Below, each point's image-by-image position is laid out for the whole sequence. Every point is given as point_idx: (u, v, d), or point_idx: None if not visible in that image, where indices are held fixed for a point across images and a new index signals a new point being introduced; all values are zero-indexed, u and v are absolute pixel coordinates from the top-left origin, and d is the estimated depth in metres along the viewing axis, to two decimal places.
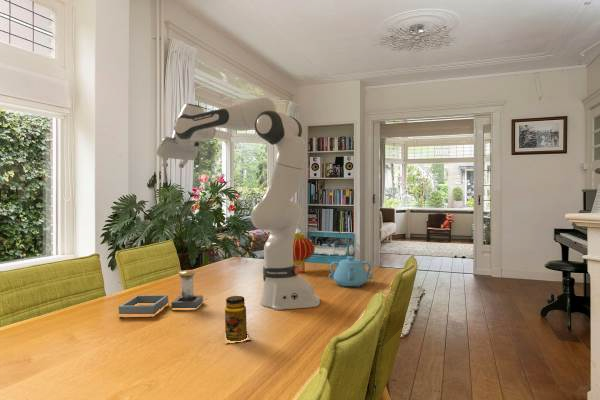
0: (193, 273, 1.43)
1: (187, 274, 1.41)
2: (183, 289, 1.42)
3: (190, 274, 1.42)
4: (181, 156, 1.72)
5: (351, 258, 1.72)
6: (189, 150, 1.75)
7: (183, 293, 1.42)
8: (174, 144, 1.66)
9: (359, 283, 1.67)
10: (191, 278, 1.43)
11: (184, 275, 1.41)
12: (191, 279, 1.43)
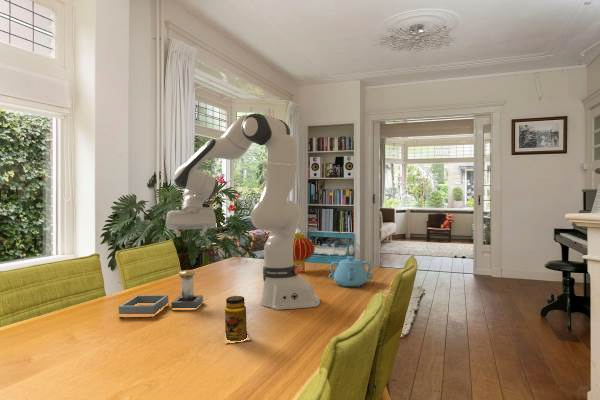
0: (193, 273, 1.43)
1: (187, 274, 1.41)
2: (183, 289, 1.42)
3: (190, 274, 1.42)
4: (192, 220, 1.59)
5: (351, 258, 1.72)
6: (202, 215, 1.62)
7: (183, 293, 1.42)
8: (179, 211, 1.61)
9: (359, 283, 1.67)
10: (191, 278, 1.43)
11: (184, 275, 1.41)
12: (191, 279, 1.43)
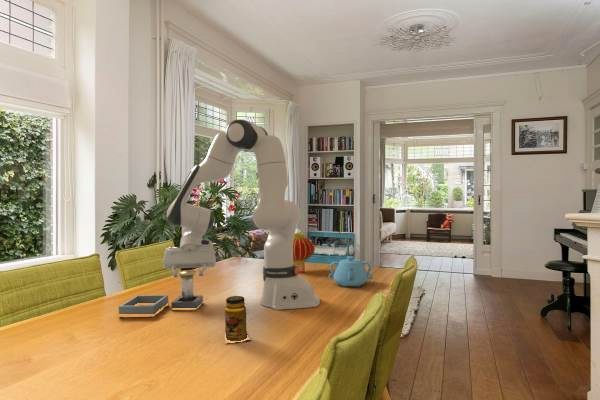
0: (193, 273, 1.43)
1: (187, 274, 1.41)
2: (183, 289, 1.42)
3: (190, 274, 1.42)
4: (191, 259, 1.51)
5: (351, 258, 1.72)
6: (202, 253, 1.54)
7: (183, 293, 1.42)
8: (177, 249, 1.54)
9: (359, 283, 1.67)
10: (191, 278, 1.43)
11: (184, 275, 1.41)
12: (191, 279, 1.43)
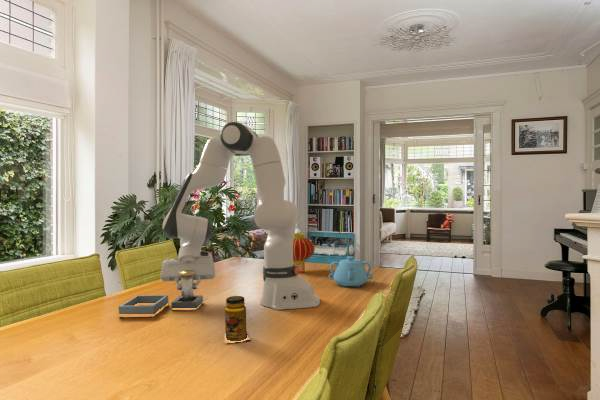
0: (193, 273, 1.43)
1: (187, 274, 1.41)
2: (183, 289, 1.42)
3: (190, 274, 1.42)
4: None
5: (351, 258, 1.72)
6: (201, 264, 1.49)
7: (183, 293, 1.42)
8: (175, 261, 1.49)
9: (359, 283, 1.67)
10: (191, 278, 1.43)
11: (184, 275, 1.41)
12: (191, 279, 1.43)
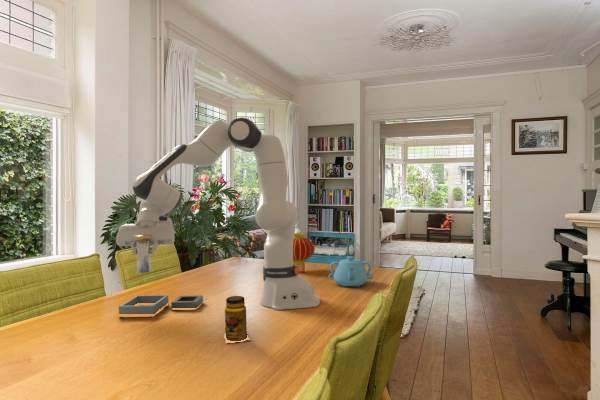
0: (149, 236, 1.38)
1: (142, 237, 1.36)
2: (138, 253, 1.37)
3: (145, 237, 1.37)
4: None
5: (351, 258, 1.72)
6: (159, 229, 1.44)
7: (138, 257, 1.37)
8: (132, 226, 1.44)
9: (359, 283, 1.67)
10: (147, 242, 1.38)
11: (139, 238, 1.36)
12: (147, 243, 1.38)
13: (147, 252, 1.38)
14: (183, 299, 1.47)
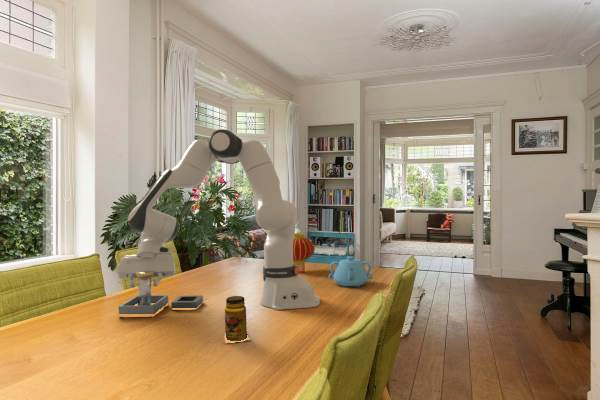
0: (151, 274, 1.38)
1: (144, 275, 1.36)
2: (140, 290, 1.37)
3: (147, 275, 1.37)
4: (147, 268, 1.42)
5: (351, 258, 1.72)
6: (160, 261, 1.45)
7: (140, 294, 1.37)
8: (133, 257, 1.44)
9: (359, 283, 1.67)
10: (149, 279, 1.38)
11: (141, 275, 1.36)
12: (149, 280, 1.38)
13: (149, 289, 1.38)
14: (183, 299, 1.47)
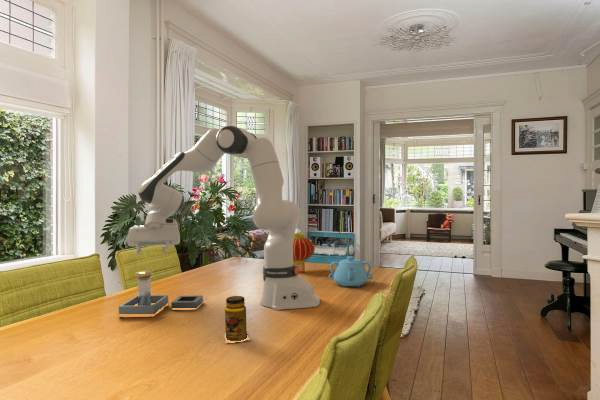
0: (150, 274, 1.38)
1: (143, 275, 1.36)
2: (139, 290, 1.37)
3: (146, 275, 1.37)
4: (154, 237, 1.54)
5: (351, 258, 1.72)
6: (166, 231, 1.57)
7: (139, 294, 1.37)
8: (141, 227, 1.57)
9: (359, 283, 1.67)
10: (148, 279, 1.38)
11: (140, 276, 1.36)
12: (148, 280, 1.38)
13: (148, 289, 1.38)
14: (183, 299, 1.47)
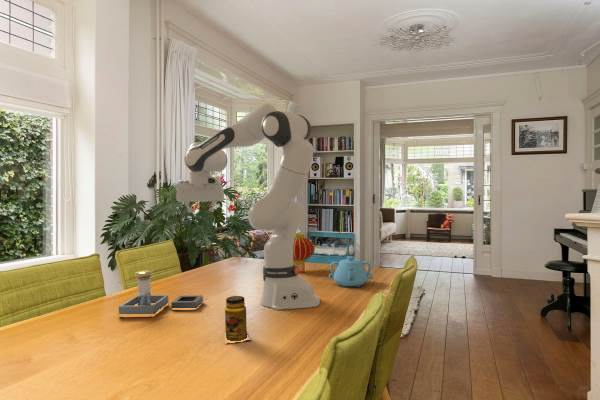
0: (150, 274, 1.38)
1: (143, 275, 1.36)
2: (139, 290, 1.37)
3: (146, 275, 1.37)
4: (200, 197, 1.65)
5: (351, 258, 1.72)
6: (210, 190, 1.66)
7: (139, 294, 1.37)
8: (187, 186, 1.65)
9: (359, 283, 1.67)
10: (148, 279, 1.38)
11: (140, 276, 1.36)
12: (148, 280, 1.38)
13: (148, 289, 1.38)
14: (183, 299, 1.47)
